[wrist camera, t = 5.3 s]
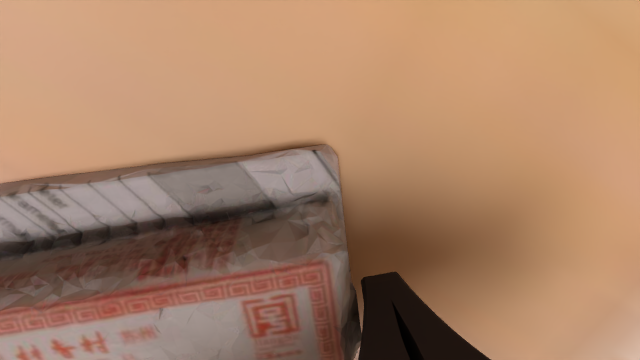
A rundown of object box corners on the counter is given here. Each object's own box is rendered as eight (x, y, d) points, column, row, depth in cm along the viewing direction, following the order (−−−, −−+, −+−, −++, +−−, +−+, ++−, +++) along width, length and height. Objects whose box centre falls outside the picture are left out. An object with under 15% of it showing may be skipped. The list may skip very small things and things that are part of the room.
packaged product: (357, 187, 8) (379, 442, 12) (333, 132, 12) (355, 331, 16) (-447, 304, 8) (-146, 528, 12) (-174, 203, 12) (-25, 390, 16)
